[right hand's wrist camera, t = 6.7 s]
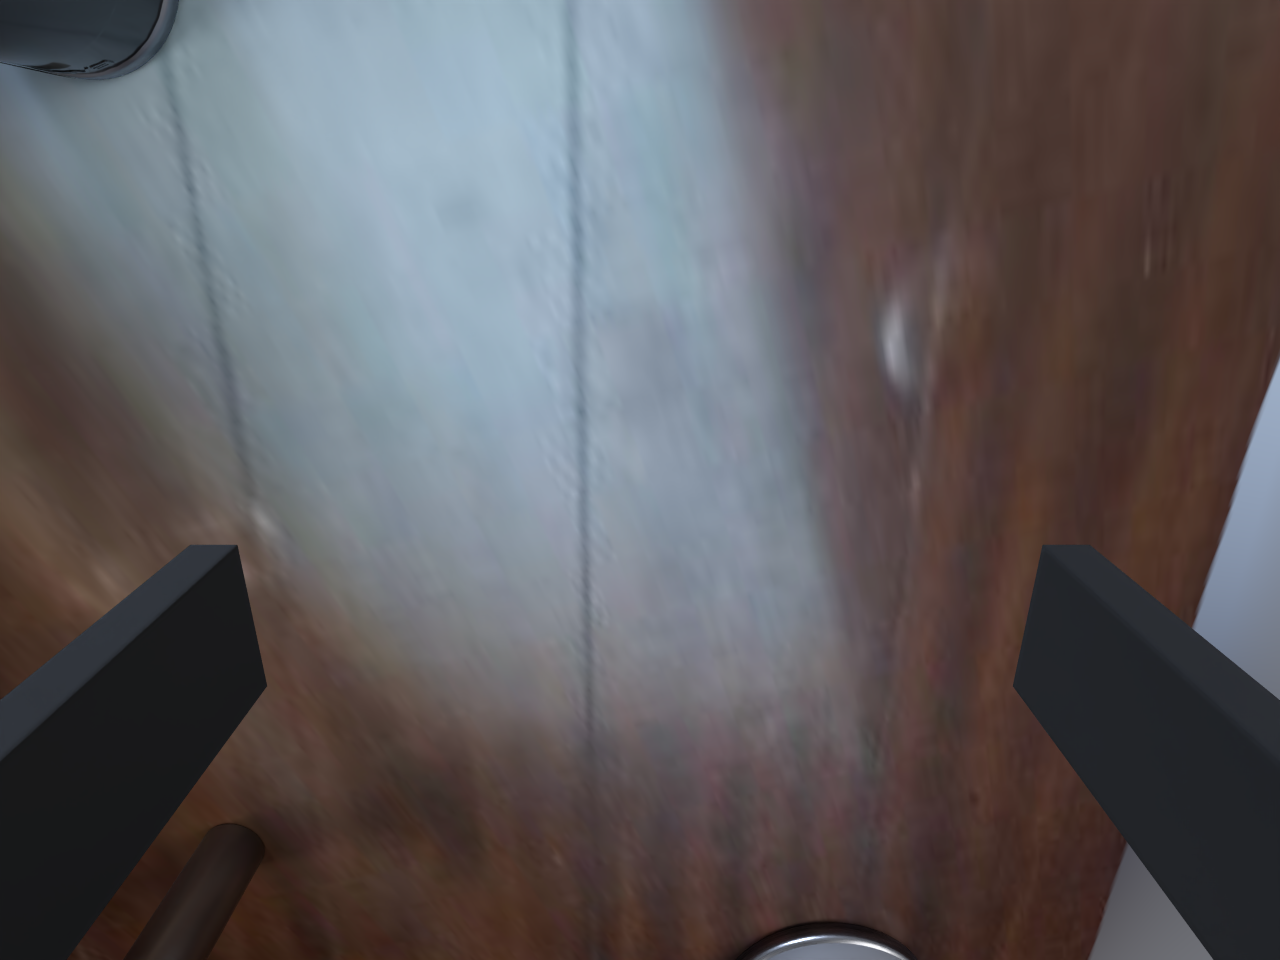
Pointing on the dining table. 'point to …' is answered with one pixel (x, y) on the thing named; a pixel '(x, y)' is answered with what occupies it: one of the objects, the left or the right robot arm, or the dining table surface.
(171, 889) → the dark brown cylinder
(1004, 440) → the dining table surface
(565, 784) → the dining table surface
